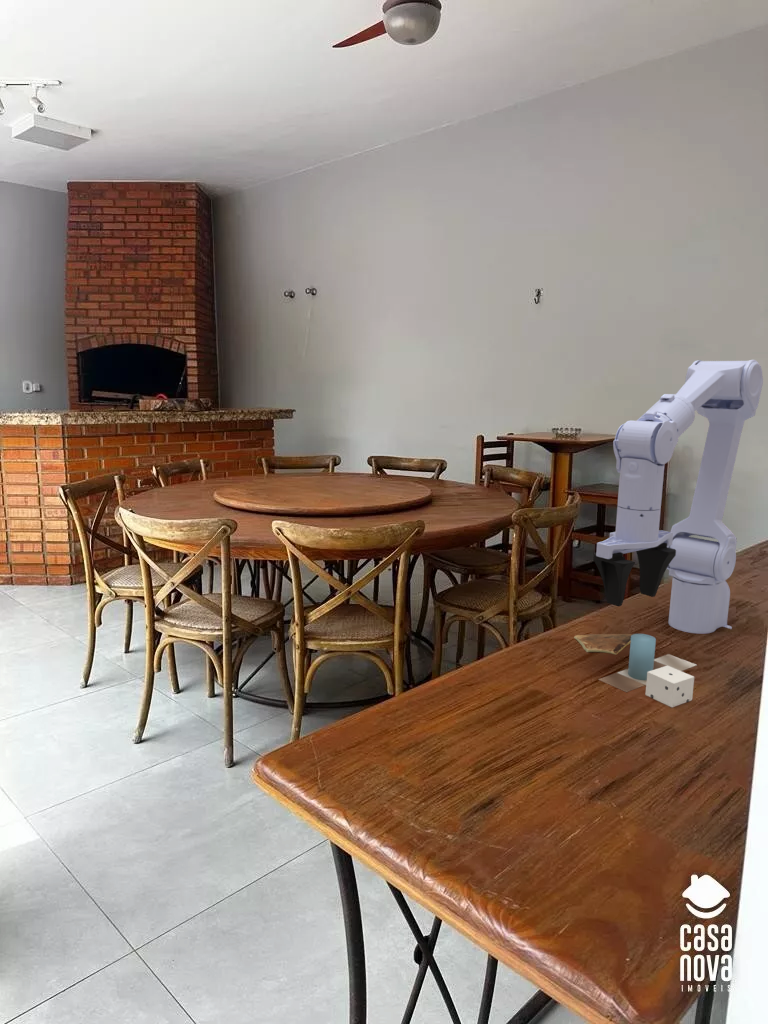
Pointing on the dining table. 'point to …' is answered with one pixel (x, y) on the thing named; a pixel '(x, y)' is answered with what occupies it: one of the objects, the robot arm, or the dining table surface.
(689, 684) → the die
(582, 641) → the shard
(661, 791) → the dining table surface
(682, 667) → the board
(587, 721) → the dining table surface
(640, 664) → the blue capsule cylinder
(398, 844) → the dining table surface
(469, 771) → the dining table surface
